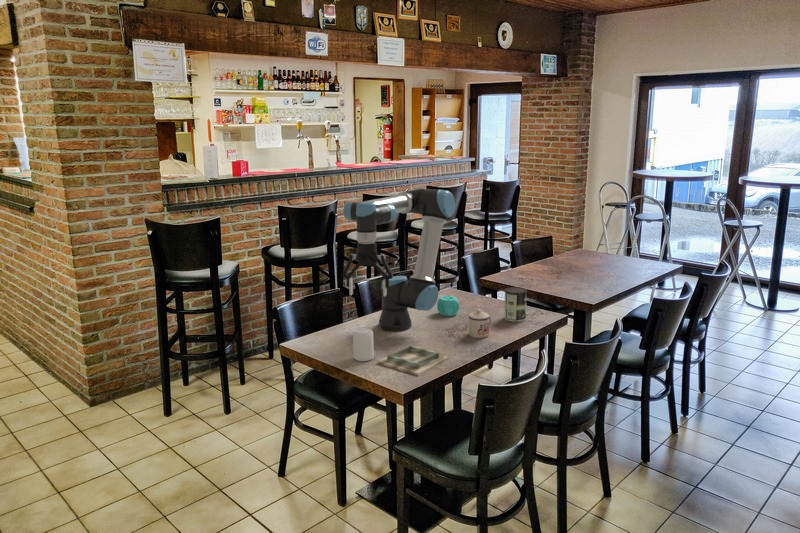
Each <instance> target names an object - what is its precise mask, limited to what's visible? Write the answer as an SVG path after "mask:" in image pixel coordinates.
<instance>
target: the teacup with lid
mask: <svg viewBox="0 0 800 533" xmlns="http://www.w3.org/2000/svg"><path fill="white" fill-rule="evenodd" d="M491 324H492V317H490V314H489V313H487V312H484V311H483V310H482V309H480V308H478V309H476V311H474V312H471V313H469V315H468V335H469V336H470V337H472V338H473V339H484V338H488V337H489V336H490V326H491Z"/></svg>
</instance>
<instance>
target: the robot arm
mask: <svg viewBox="0 0 800 533" xmlns="http://www.w3.org/2000/svg"><path fill="white" fill-rule="evenodd" d="M454 197H455V196H454V195H453V193H452V192H450V190H445V189H440V188H439V189H433V188H431V189H430V188H415V189H410V190H405V191H401V192H399V193H397V195H391V196H386V197H382V198H374V199H370V200H364V201H358V202H357V201H348V202H347V203H345V205H344V206H343V208H342V210H343V212H342V214H343V217H344V218H345V220H348V221H352V222H356V241H357V243H356V244H357V245H356V246H357V251H356V252H357V254H354V253H350V254H349V256H348V261H347V264H346V266H345V267H344V270H343V271H342V274H341V277H342V278H345V279H346V287H347V288H348V289H349V290H348V291H349V296H352V295H354V286H353V285H354V282H353V281H354V280H353V277H352V276H353V274H355V272H356V271H357V270H358V269H359V268H360V266H363V267H372V266H373V268H375V269H376V270H377V272H378V273H379V274H380V275H381V276H382V278H383V279H382V281H381V288H380V289H381V314H380V316H379V319H378V328H379V329H380V330H384V331H388V332H399V331H400V332H401V331H406V330H408V329H410V328H412V323H413V322H412V319H411V316H410V313H409V309H414V310H417V311H423V312H424V311H425V312H427V311H430V310H431V309H433V308H434V307H435V305H437V302H438V300H439V289H438V288H439V287H437V286H436V281H435V279H434V275H435V274H434V273H435V269H436V263H437V257H438V252H439V248H440V242H441V237H442V234H443V227H444V225H445V224H447V223H448V219H449V218H451V217H452V216H454V214H455V211H456V200H455V198H454ZM399 213H401V214H410V213H411V214H416V215H417V214H418V215H421V219H422V220H423V224H422V225H423V226H422V229H421V230H422V231H421V237H420V240H419V246H418V251H417V256H416V263H415V265H414V266H415V267H414V271H413V274H412V275H410V276H409V280H408V278H407V276H406V275H395V276H394V274H393V271H392V270H391V267H390V266H389V264H388V262H387V260H386V254H385V253H383V254H378V252H377V246H378V245H377V226H378V225H383V224H389V223H391V222H393V221H395V220H396V218H397V214H399ZM354 260H357V261H358V262H357V264H356V265H355V266H354V267H353V268H352V270H351V271H350V272H349V270H350V268H351V265H352V263H353V262H354ZM377 260H379V261H380V262H381V264H382V266H383V268H384V269H385V270H384V269H383V268H382V266H381V265H380V264H379V262H378V261H377ZM348 272H349V273H348Z"/></svg>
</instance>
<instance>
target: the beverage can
mask: <svg viewBox="0 0 800 533" xmlns="http://www.w3.org/2000/svg"><path fill="white" fill-rule="evenodd" d="M374 344H375V343H374V331H373V329H372V328H371V327H367V326H361V327H356V328H354V329H353V332H352V350H353V351H352V352H353V359H354V360H356V361H358V362H368V361H371V360H373V358H375V350H374V348H375V346H374Z"/></svg>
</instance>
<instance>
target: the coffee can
mask: <svg viewBox="0 0 800 533" xmlns="http://www.w3.org/2000/svg"><path fill="white" fill-rule="evenodd" d="M527 293H528V289H527V288H523V287H520V286H519V287H518V286H511V287H507V288H504V317H503V318H504V320H505V321H509V322H514V323H519V322H524V321H526V320H527V298H528V297H527Z"/></svg>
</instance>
